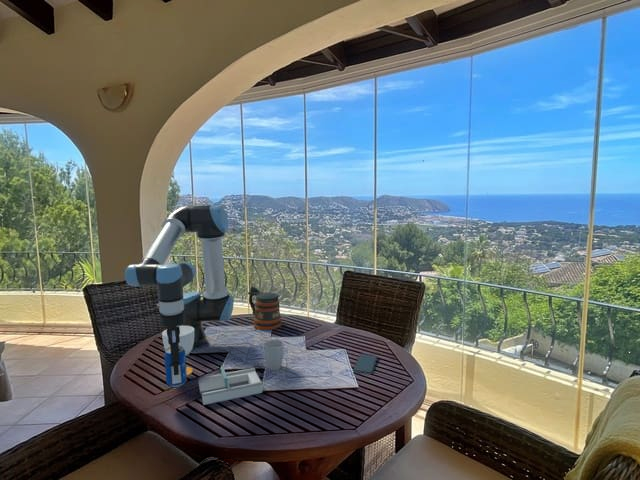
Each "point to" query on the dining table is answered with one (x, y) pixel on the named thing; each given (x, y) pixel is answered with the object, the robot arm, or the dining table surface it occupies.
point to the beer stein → (265, 309)
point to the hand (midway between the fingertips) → (176, 377)
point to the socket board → (235, 386)
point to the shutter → (213, 382)
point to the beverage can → (169, 370)
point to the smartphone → (365, 363)
